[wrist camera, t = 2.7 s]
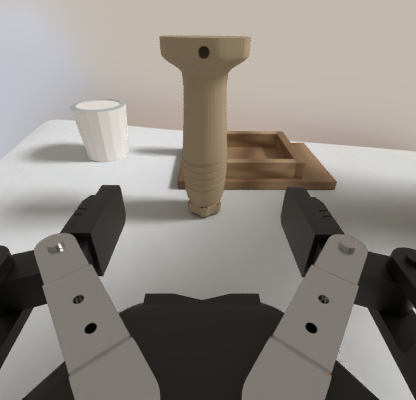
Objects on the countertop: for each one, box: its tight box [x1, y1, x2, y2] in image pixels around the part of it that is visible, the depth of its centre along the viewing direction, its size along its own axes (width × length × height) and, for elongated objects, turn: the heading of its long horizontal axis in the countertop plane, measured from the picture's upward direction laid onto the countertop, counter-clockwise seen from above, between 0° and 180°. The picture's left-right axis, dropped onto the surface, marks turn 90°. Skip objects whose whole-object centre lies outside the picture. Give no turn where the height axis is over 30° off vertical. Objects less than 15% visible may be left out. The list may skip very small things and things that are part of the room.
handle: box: [160, 36, 251, 217], centre depth 23 cm, size 5×6×15 cm
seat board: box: [178, 131, 337, 189], centre depth 33 cm, size 18×12×8 cm, turn 91°
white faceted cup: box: [71, 99, 129, 162], centre depth 36 cm, size 7×7×7 cm
